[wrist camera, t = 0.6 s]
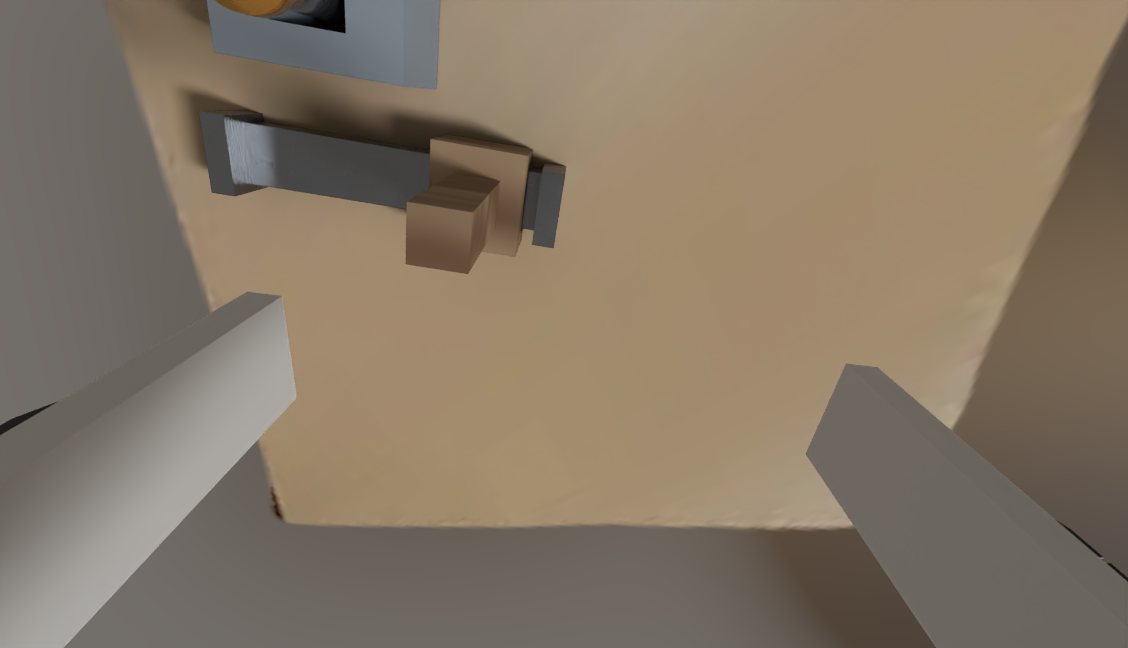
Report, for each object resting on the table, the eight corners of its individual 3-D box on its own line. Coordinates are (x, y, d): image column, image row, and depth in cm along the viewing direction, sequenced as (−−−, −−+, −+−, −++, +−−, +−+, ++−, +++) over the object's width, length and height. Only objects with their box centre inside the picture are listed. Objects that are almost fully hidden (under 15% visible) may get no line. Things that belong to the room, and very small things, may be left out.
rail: (240, 110, 32) (198, 110, 29) (565, 166, 34) (565, 174, 30) (249, 183, 34) (211, 192, 31) (555, 233, 36) (553, 248, 32)
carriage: (448, 134, 33) (372, 154, 20) (532, 149, 33) (509, 178, 21) (443, 226, 35) (374, 293, 23) (521, 239, 36) (495, 312, 23)
